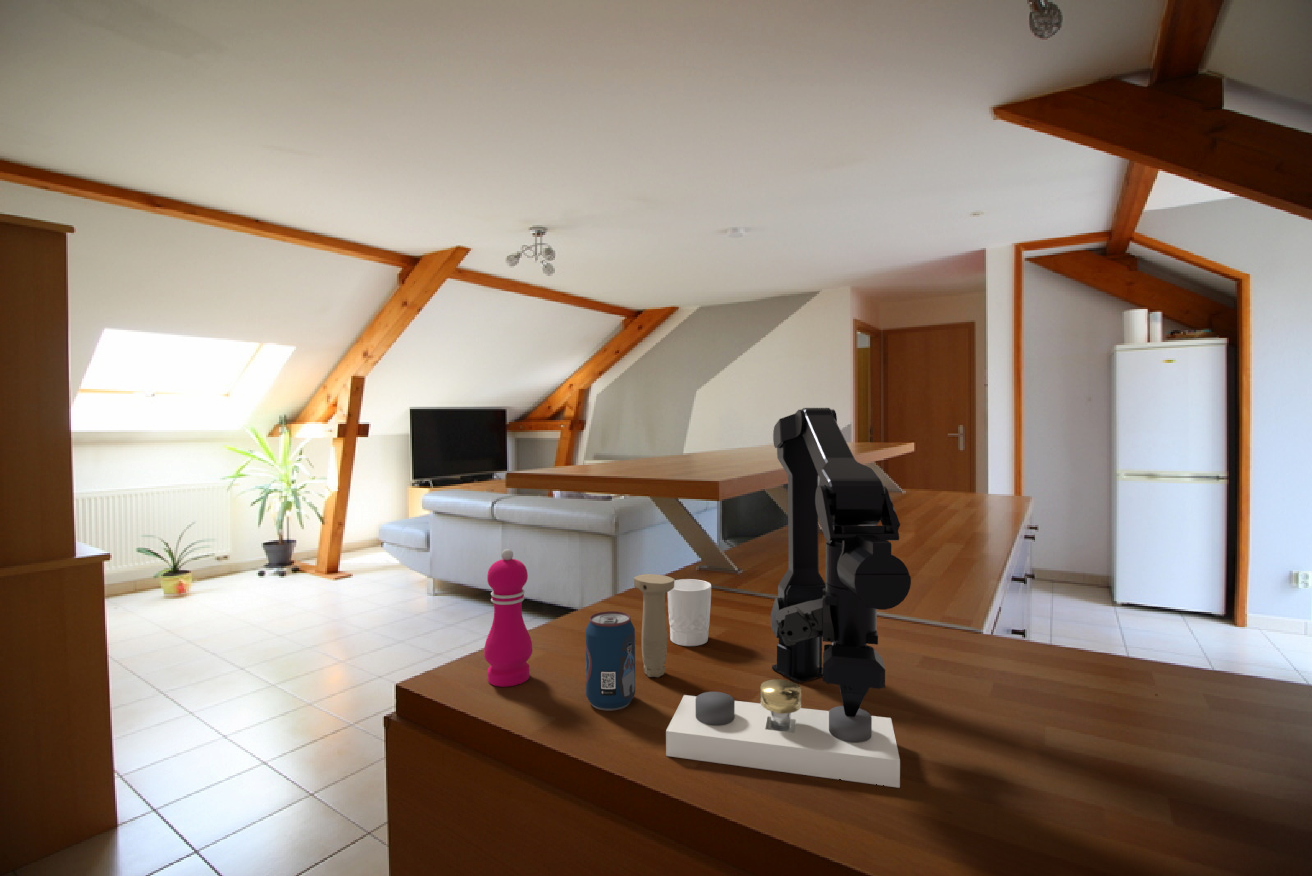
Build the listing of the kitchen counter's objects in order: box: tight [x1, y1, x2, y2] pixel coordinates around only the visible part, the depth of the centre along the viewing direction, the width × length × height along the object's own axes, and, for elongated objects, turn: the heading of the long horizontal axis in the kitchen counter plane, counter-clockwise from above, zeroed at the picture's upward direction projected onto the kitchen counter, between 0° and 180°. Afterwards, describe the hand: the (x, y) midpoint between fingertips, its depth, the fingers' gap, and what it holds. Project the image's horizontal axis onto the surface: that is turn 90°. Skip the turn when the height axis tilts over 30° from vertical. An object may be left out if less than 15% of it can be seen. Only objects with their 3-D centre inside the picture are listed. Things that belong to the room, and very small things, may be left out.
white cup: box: [666, 578, 712, 647], centre depth 115 cm, size 8×8×10 cm
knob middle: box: [760, 678, 802, 731], centre depth 77 cm, size 5×5×5 cm
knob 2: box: [828, 705, 872, 742], centre depth 75 cm, size 5×5×5 cm
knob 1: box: [696, 691, 736, 725], centre depth 79 cm, size 5×5×5 cm
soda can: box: [585, 610, 636, 711], centre depth 90 cm, size 7×7×12 cm
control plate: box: [665, 694, 901, 789], centre depth 77 cm, size 26×10×3 cm, turn 75°
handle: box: [633, 573, 675, 678], centre depth 100 cm, size 5×6×15 cm
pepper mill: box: [483, 548, 533, 688], centre depth 98 cm, size 7×7×20 cm
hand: (849, 715), depth 75 cm, fingers closed, pressing on knob 2
